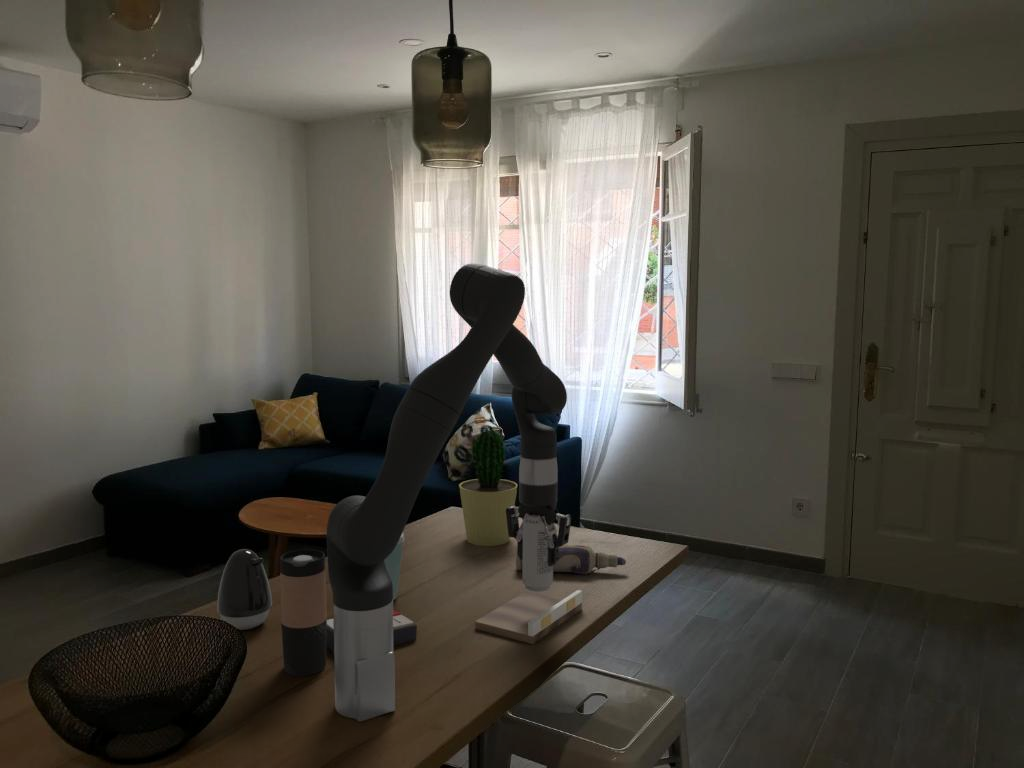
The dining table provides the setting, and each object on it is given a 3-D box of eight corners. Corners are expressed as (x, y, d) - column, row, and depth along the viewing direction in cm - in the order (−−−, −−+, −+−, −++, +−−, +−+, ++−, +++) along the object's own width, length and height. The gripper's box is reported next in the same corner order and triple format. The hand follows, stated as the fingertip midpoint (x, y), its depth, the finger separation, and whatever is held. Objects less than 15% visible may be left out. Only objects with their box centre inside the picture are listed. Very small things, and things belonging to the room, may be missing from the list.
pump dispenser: (243, 640, 153) (240, 561, 152) (206, 628, 159) (203, 552, 157) (284, 621, 162) (282, 547, 160) (248, 610, 167) (246, 538, 166)
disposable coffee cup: (395, 609, 168) (394, 538, 167) (346, 605, 170) (345, 535, 169) (412, 591, 179) (411, 524, 177) (365, 587, 181) (364, 521, 179)
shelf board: (532, 644, 152) (532, 636, 152) (475, 628, 159) (475, 621, 159) (581, 609, 169) (582, 602, 169) (528, 596, 176) (528, 590, 176)
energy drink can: (537, 579, 166) (538, 507, 165) (559, 587, 162) (559, 513, 160) (516, 586, 162) (516, 513, 161) (537, 594, 158) (538, 519, 156)
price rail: (533, 636, 152) (533, 623, 152) (528, 635, 152) (528, 622, 152) (582, 602, 169) (583, 591, 168) (577, 601, 169) (577, 589, 169)
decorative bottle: (514, 575, 190) (514, 547, 189) (517, 564, 197) (517, 537, 196) (625, 580, 187) (626, 552, 186) (625, 569, 194) (626, 542, 193)
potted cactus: (493, 527, 227) (493, 421, 224) (529, 540, 215) (530, 428, 212) (447, 538, 217) (447, 426, 214) (482, 552, 206) (483, 435, 202)
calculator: (418, 621, 154) (345, 637, 145) (417, 643, 154) (344, 661, 145) (389, 604, 163) (318, 618, 153) (388, 625, 163) (318, 640, 154)
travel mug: (309, 653, 148) (307, 546, 146) (336, 665, 143) (334, 555, 141) (273, 668, 142) (270, 556, 140) (300, 681, 137) (297, 566, 135)
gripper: (579, 480, 159) (578, 563, 161) (517, 471, 167) (516, 551, 169) (561, 487, 153) (560, 574, 155) (497, 478, 160) (497, 561, 162)
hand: (537, 561), depth 162 cm, fingers closed on energy drink can, 6 cm apart
